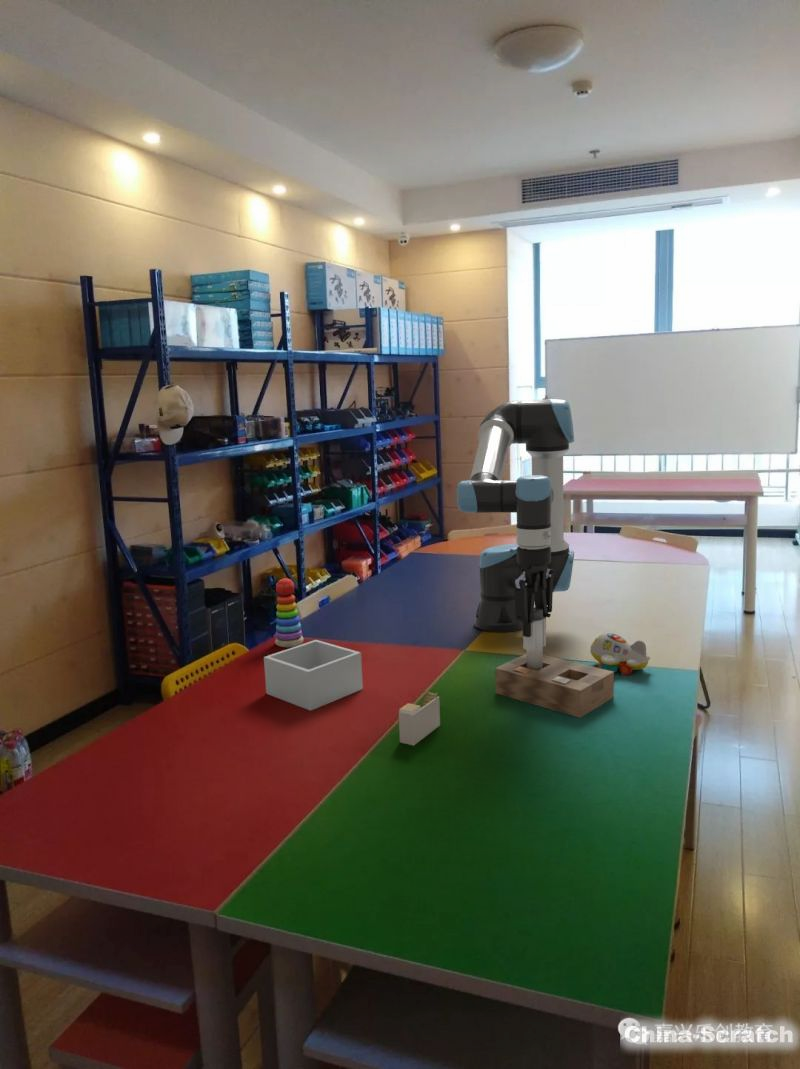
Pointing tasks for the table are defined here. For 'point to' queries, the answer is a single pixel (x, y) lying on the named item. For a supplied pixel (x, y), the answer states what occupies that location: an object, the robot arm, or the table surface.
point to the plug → (537, 642)
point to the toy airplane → (619, 653)
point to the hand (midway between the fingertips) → (534, 646)
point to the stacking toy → (287, 616)
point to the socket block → (556, 685)
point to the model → (419, 719)
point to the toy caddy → (313, 674)
